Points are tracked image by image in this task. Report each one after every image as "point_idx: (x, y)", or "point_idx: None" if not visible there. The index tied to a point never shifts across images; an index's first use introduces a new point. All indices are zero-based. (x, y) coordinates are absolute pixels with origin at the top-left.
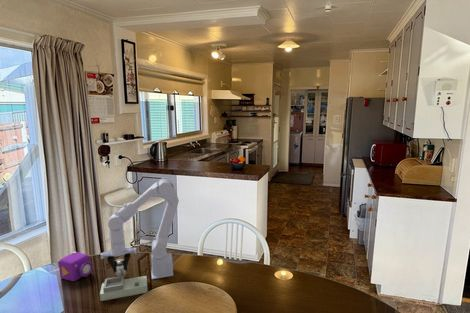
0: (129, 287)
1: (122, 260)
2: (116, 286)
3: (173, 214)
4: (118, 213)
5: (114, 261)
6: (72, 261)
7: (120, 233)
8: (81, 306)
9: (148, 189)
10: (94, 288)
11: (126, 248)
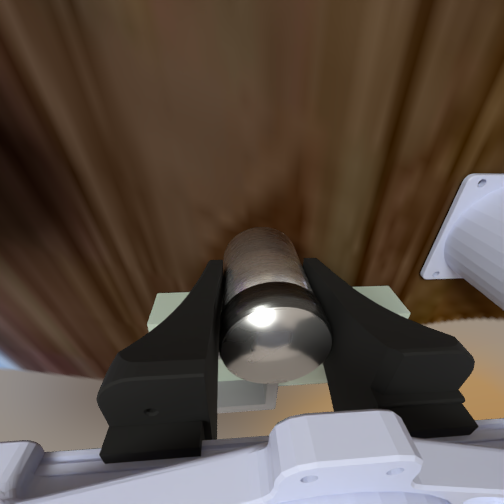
0: (302, 377)
1: (309, 347)
2: (245, 408)
3: None
4: None
5: (214, 335)
6: None
7: None
8: (99, 371)
9: None
10: (98, 269)
11: (490, 483)
